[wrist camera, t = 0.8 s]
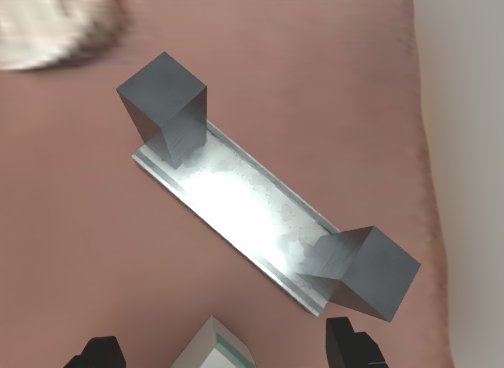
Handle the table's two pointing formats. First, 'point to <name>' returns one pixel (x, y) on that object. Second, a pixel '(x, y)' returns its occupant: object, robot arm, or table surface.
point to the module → (215, 349)
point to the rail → (257, 202)
